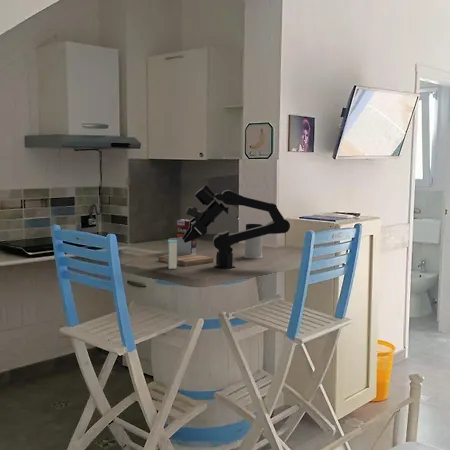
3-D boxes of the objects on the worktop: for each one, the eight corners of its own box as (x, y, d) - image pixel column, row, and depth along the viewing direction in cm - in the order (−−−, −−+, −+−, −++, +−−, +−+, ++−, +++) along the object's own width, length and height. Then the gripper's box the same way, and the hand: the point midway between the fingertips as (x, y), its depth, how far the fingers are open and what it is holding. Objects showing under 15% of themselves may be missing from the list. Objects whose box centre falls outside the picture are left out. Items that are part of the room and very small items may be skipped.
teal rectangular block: (176, 266, 247) (176, 239, 246) (177, 268, 241) (177, 241, 240) (167, 266, 247) (168, 239, 246) (168, 269, 240) (168, 241, 239)
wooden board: (213, 262, 258) (213, 257, 258) (185, 266, 247) (185, 261, 247) (186, 257, 271) (186, 252, 271) (158, 260, 260) (158, 256, 260)
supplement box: (175, 253, 282) (176, 220, 280) (181, 252, 286) (181, 219, 284) (191, 255, 277) (191, 221, 276) (196, 253, 282) (197, 220, 280)
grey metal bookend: (191, 254, 265) (191, 236, 265) (170, 257, 257) (170, 238, 256) (184, 253, 269) (184, 235, 268) (163, 255, 261) (163, 237, 260)
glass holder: (247, 258, 270) (248, 225, 268) (237, 254, 283) (237, 222, 282) (265, 258, 273) (266, 225, 271) (254, 253, 286) (254, 222, 284)
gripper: (195, 198, 251) (168, 224, 251) (199, 201, 233) (170, 229, 233) (213, 217, 253) (187, 242, 253) (218, 221, 235) (190, 249, 234)
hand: (183, 240), depth 243 cm, fingers open, 9 cm apart
